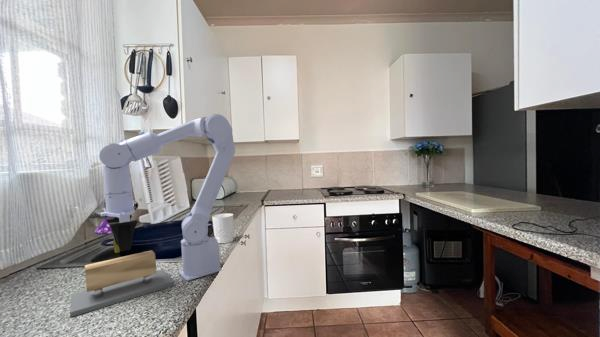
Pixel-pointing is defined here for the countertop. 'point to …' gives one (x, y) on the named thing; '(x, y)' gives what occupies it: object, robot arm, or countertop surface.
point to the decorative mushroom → (107, 232)
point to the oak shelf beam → (119, 270)
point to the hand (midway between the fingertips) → (123, 246)
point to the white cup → (223, 227)
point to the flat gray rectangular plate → (118, 292)
